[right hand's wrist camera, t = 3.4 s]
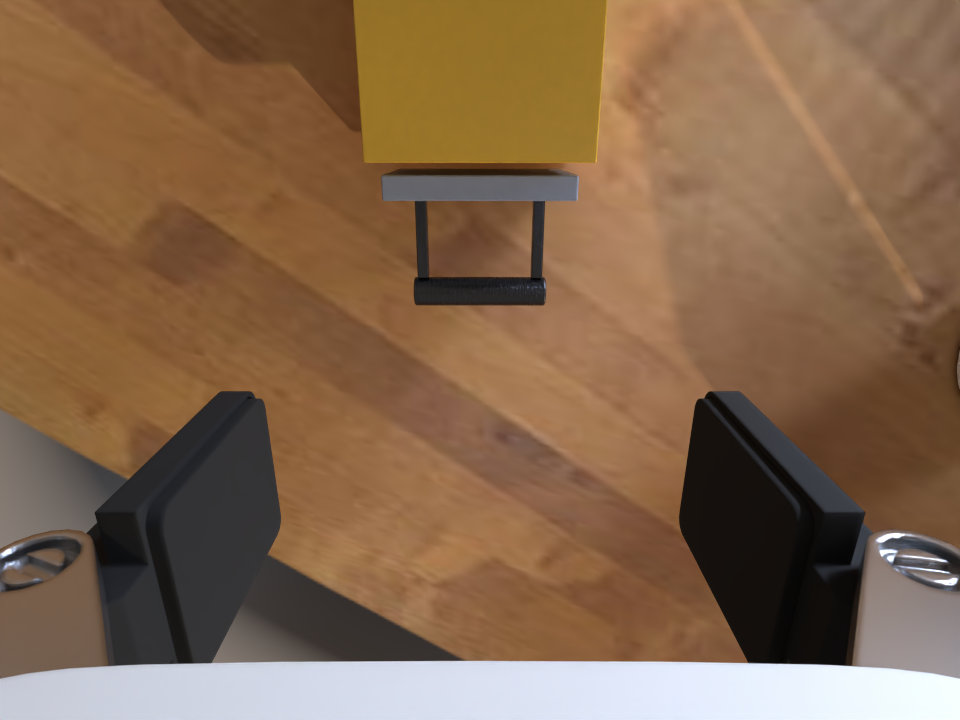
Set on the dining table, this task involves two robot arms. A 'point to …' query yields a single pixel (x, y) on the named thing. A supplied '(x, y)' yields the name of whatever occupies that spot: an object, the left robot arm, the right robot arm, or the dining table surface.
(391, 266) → the dining table surface
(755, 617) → the right robot arm
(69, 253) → the dining table surface
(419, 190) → the drawer
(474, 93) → the yellow box orange base
